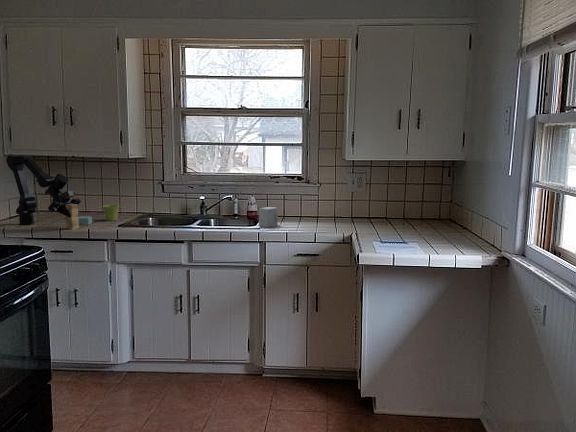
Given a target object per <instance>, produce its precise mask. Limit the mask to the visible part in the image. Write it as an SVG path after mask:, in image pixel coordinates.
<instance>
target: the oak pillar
mask: <svg viewBox="0 0 576 432" xmlns="http://www.w3.org/2000/svg"><path fill="white" fill-rule="evenodd" d="M65 206H66V209H67V210H68V212H69V213H70V215H71V217H70V218H69V217H67V216H65V229H66V230H76V229H79V228H80V225H79V221H78V217H79V205H78V204H67V205H65Z"/></svg>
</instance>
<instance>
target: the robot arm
mask: <svg viewBox="0 0 576 432" xmlns="http://www.w3.org/2000/svg"><path fill="white" fill-rule="evenodd" d="M5 160H6V164H7V167H8V168H9V169H10V171H12V172H13V176H14V179H15V183H16V185H17V190H18V194H19V196H20V197H19V200H18V207H17V208H16V209H15V213H16V215H18V217H19V218H18V220H19V223H17V224H18V225H19V226H21V225H22V226H23V225H24V226H25V225H26V226H29V225H32V224H33V223H34V224H36V223H35V219H34V218H35V217H34V215H33V214H34V213H35V212H36V209H37V204H38V202H37V200H36V197H35V196H33V195H31V194H30V190H29V187H28V184H27V180H26V176H25V173H24V167H25V166H26V168H27V169H28V170H29V171H30V173H32V174H33V175H34V177H35V178H36V183H37V184H38V185H39V186H40V188H43V189H44V188H46V189H45V191H44V195H49V196H50V197H51V198H52V202H50V204H49V205H48V211H49V212H50V213H53V212H55V213H58V214H61V215H64V216H65V217H66V216H67V217H69V218H70V217H71V215H70V213H69V212H68V210H67V209H66V206H65V205H67V204H78V206H79V205H80V203H81V202H82V201H81V199H80V198H77V197H76V198H72V197H75V196H76V191H75V190H74V189H70V190H67V191H64V192H62V191H61V190H64V188H65V187H66V185H67V184H68V183H69V178H68V177H66V176H65V175H63V174H61V173H57V174H56V175H55V178H54V177H53V176H52V175H50V173H47V172H45V171H43V169H42V168H41V167H40V165H38V164H37V163H36V161H34V159H33V158H32V156H31V155H20V154H13V155H12V154H9V155H8V156H7V157H6V159H5ZM71 198H72V199H71ZM70 200H71V201H70Z"/></svg>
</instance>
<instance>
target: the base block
mask: <svg viewBox="0 0 576 432" xmlns="http://www.w3.org/2000/svg"><path fill="white" fill-rule="evenodd" d="M78 221H79V226H85V225H86V226H89V225H91V224H93V217H92V216H89V215H88V216H86V215H85V216H79V215H78Z"/></svg>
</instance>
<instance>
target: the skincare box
mask: <svg viewBox="0 0 576 432" xmlns="http://www.w3.org/2000/svg"><path fill="white" fill-rule="evenodd" d="M258 211H259V212H258V214H259V216H258V227H259V226H261V228H267V227H268V228H272V227H276V226H275V225H277V226H278V221H279V220H278V219H279V218H278V217H279V214H278V211H279V208H278V207H273V206H267V207H260V208H259V209H258ZM271 226H272V227H271Z"/></svg>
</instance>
